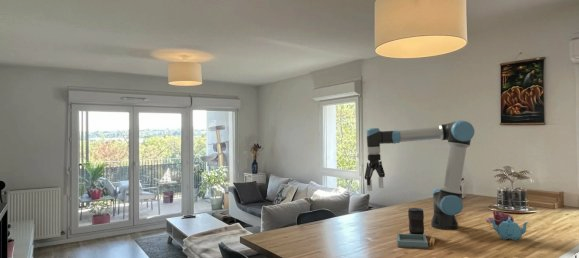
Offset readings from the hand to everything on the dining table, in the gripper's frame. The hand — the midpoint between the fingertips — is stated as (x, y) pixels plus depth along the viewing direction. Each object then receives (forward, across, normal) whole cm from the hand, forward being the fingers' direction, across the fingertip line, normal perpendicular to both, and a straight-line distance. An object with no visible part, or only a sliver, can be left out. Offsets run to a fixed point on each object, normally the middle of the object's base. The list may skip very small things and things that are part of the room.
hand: (375, 189), depth 211 cm
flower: (+26, -49, +54) cm, 77 cm away
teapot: (+26, -28, +63) cm, 73 cm away
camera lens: (+25, -2, +23) cm, 34 cm away
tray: (+25, +12, +27) cm, 39 cm away
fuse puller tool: (+25, +4, +34) cm, 43 cm away
